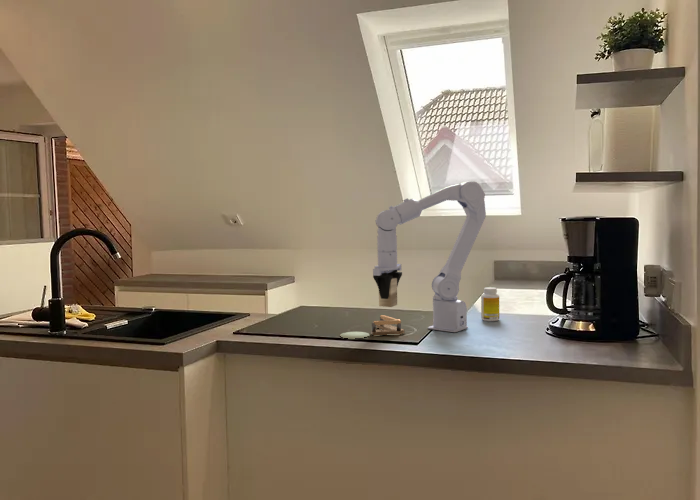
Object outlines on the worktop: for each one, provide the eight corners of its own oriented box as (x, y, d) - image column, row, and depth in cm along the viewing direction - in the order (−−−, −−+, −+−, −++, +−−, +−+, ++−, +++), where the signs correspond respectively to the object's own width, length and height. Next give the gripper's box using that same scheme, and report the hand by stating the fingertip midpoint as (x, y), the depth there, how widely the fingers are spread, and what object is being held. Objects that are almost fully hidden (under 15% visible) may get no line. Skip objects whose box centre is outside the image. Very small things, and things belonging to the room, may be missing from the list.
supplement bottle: (502, 321, 183) (502, 288, 182) (486, 322, 182) (486, 289, 181) (494, 317, 188) (494, 286, 187) (478, 319, 187) (478, 287, 186)
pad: (375, 335, 167) (375, 334, 167) (356, 340, 161) (356, 339, 160) (352, 331, 172) (352, 330, 172) (333, 336, 166) (333, 335, 166)
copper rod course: (413, 331, 171) (413, 317, 170) (389, 339, 162) (389, 324, 161) (382, 326, 178) (381, 313, 178) (357, 333, 169) (356, 319, 169)
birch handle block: (397, 304, 173) (396, 278, 172) (391, 307, 169) (390, 279, 169) (385, 304, 175) (384, 277, 174) (379, 306, 171) (378, 279, 171)
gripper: (386, 249, 179) (387, 293, 180) (363, 253, 167) (364, 300, 168) (407, 249, 176) (408, 294, 177) (385, 253, 163) (386, 301, 164)
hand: (388, 297), depth 172 cm, fingers closed on birch handle block, 4 cm apart
